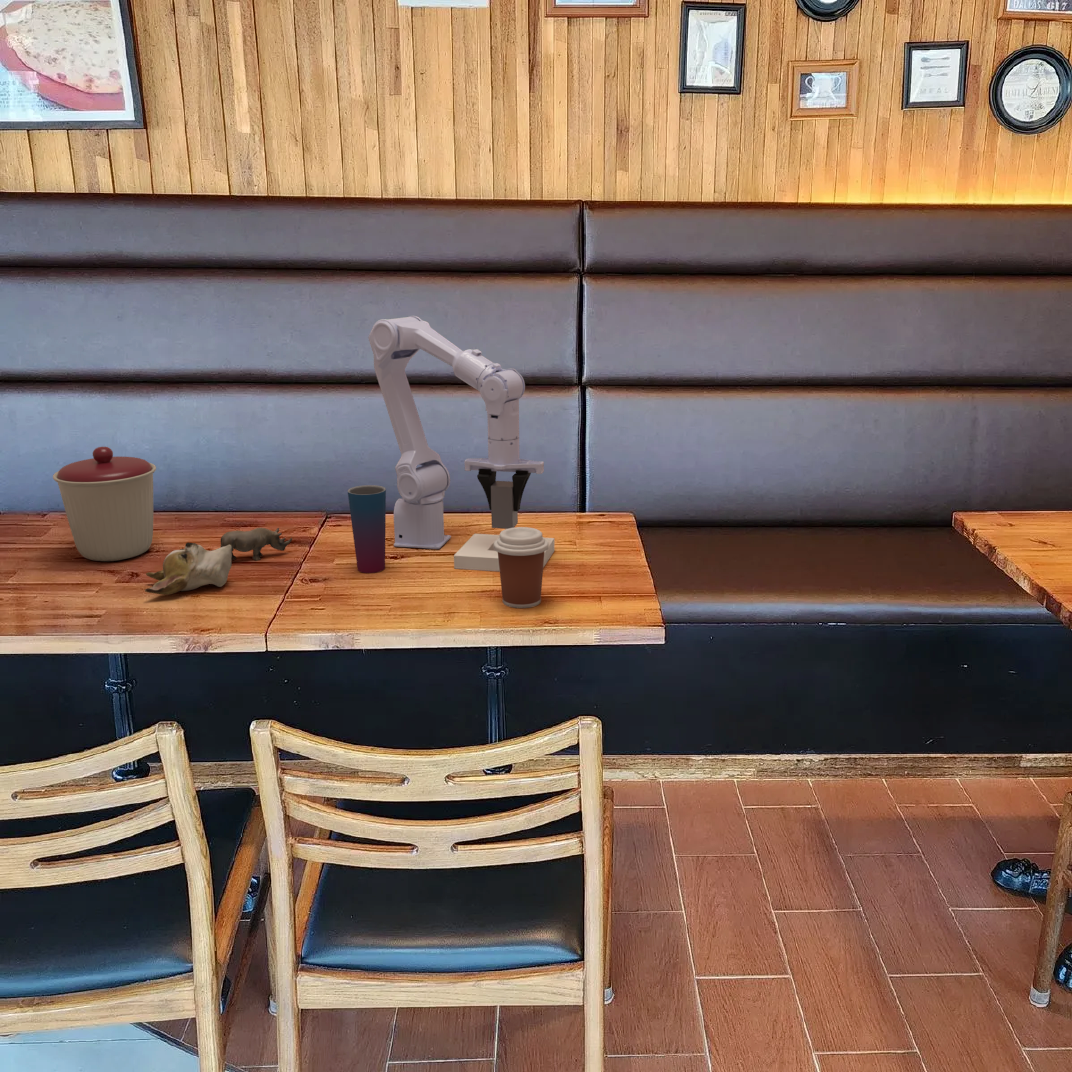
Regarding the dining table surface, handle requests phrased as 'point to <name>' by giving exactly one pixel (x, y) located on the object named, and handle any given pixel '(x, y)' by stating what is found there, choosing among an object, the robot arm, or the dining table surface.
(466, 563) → the socket plate
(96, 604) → the dining table surface
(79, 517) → the canister
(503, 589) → the coffee cup
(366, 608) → the dining table surface
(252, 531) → the rhino figurine
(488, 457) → the robot arm
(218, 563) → the ceramic sculpture
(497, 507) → the plug
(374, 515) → the cup
